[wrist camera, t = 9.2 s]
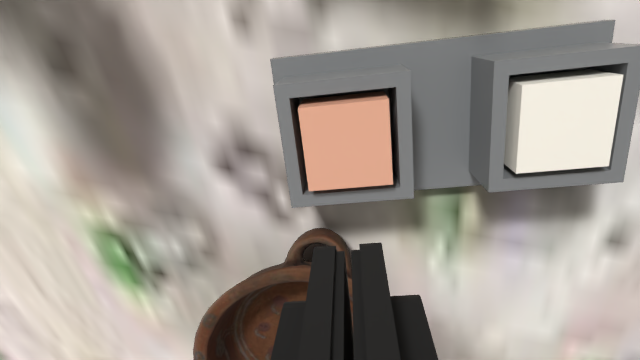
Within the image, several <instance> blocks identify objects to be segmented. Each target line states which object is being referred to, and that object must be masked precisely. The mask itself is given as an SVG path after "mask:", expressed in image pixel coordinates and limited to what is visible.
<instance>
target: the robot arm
mask: <svg viewBox="0 0 640 360" xmlns="http://www.w3.org/2000/svg"><path fill="white" fill-rule="evenodd" d="M351 259H352V300H353V326H352V316H351V306H350V297H349V287H348V277H347V268H346V258H345V251H337V249H336V246H323V247H314V249H313V256H312V263H311V269H310V276H309V283H308V290H307V297H306V301H291V302H285V303H284V304H283V307H282V311H281V315H280V320H279V324H278V328H277V333H276V337H275V342H274V346H273V350H272V355H271V359H270V360H438V357H437V354H436V350H435V347H434V343H433V339H432V336H431V332H430V329H429V325H428V321H427V318H426V314H425V311H424V307H423V303H422V300H421V297H420V296H419V295H406V296H390V292H389V286H388V280H387V274H386V268H385V262H384V256H383V250H382V244H381V243H368V244H360V250H351Z"/></svg>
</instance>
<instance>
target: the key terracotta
mask: <svg viewBox="0 0 640 360" xmlns="http://www.w3.org/2000/svg"><path fill="white" fill-rule="evenodd" d="M298 114H299V121H300V129H301V136H302V144H303V151H304V159H305V166H306V174H307V182H308V189H309V191H319V190H331V189H344V188H356V187H368V186H381V185H393V172H392V152H391V131H390V111H389V98H388V97H387V95H386V94H385V92H384V91H378V92H368V93H358V94H349V95H339V96H330V97H320V98H310V99H303V100H302V102H301V104H300V105H299V107H298Z"/></svg>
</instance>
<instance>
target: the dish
mask: <svg viewBox="0 0 640 360" xmlns="http://www.w3.org/2000/svg"><path fill="white" fill-rule="evenodd" d="M315 243H320V244H325V245H327V246H336V249H337V251H345V258H346V268H347V277H348V287H349V297H350V306H351V316H352V326H353V300H352V268H351V260H350V255H349V250H348V248H347V245H346V243H345V242H344V240H343V239H342V237H341V236H339V235H338V234H337V233H335V232H334V231H332V230H329V229H327V228H315V229H312V230H310V231H307V232H305V233H304V234H303V235H301V236H300V237H299V238H298V239H297V240H296V241H295V243H294V244H293V246H292V247H291V248H290V250H289V252H288V255H287V258H286V260H285V262H284V263H282V264H279V265H276V266H272V267H269V268H266V269H263V270H261V271H259V272H257V273H255V274H253V275H252V276H250V277H249V278H247V279H246V280H244V281H242V282H241V283H239V284H237V285H236V286H234V287H233V288H231V289H230V290H228V291H227V292H225V293H224V294H223V295H222V296H221V297H220V298H219V299H218V300H216V301H215V302H214V303H213V304H212V306H211V307H210V308H209V309H208V311H207V312H206V313H205V315H204V316H203V318H202V320H201V322H200V325H199V327H198V330H197V332H196V336H195V342H194V349H193V355H194V360H270V359H271V355H272V350H273V346H274V342H275V337H276V333H277V328H278V324H279V320H280V315H281V311H282V307H283V304H284V303H285V302H291V301H306V297H307V290H308V283H309V276H310V269H311V263H312V262H309V261H305V260H304V258H303V252H304V250H305V249H306V248H307V247H308V246H309V245H311V244H315Z"/></svg>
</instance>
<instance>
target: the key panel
mask: <svg viewBox="0 0 640 360" xmlns="http://www.w3.org/2000/svg"><path fill="white" fill-rule="evenodd" d="M614 25H615V20H601V21H593V22H584V23H575V24H567V25H558V26H549V27H541V28H532V29H523V30H515V31H506V32H497V33H489V34H480V35H471V36H463V37H454V38H445V39H437V40H428V41H419V42H411V43H402V44H393V45H384V46H376V47H367V48H358V49H350V50H341V51H332V52H324V53H315V54H306V55H298V56H289V57H280V58H273V59H270V61H271V68H272V74H273V81H274V85H273V88H274V94H275V101H276V108H277V114H278V121H279V127H280V134H281V140H282V147H283V153H284V160H285V167H286V173H287V180H288V186H289V193H290V199H291V206H292V208H295V207H308V206H321V205H333V204H346V203H359V202H372V201H385V200H398V199H411V198H414V190H423V189H436V188H448V187H461V186H473V185H482V186H483V187H484V188H485V189H486V190H487V191H488V192H501V191H514V190H527V189H540V188H553V187H566V186H579V185H592V184H604V183H617V182H623V180H624V175H625V169H626V164H627V158H628V152H629V147H630V141H631V135H632V130H633V124H634V119H635V113H636V107H637V102H638V96H639V90H640V44H622V43H612V38H613V32H614ZM586 69H591V70H598V71H604V72H610V73H616V74H622V75H623V81H622V87H621V93H620V100H619V106H618V112H617V118H616V124H615V131H614V137H613V143H612V149H611V155H610V162H609V166H604V167H592V168H580V169H567V170H555V171H543V172H531V173H518V174H516V173H515V172H513V171H512V170H511V169H510V168H509V167H507V166H506V165H505V164H504V153H505V136H506V119H507V102H508V85H509V77H519V76H528V75H538V74H548V73H557V72H567V71H576V70H586ZM378 91H384V92H385V94H386V95H387V97H388V98H389V111H390V131H391V152H392V172H393V185H381V186H368V187H356V188H344V189H331V190H319V191H309V189H308V182H307V174H306V166H305V159H304V151H303V144H302V136H301V129H300V121H299V114H298V107H299V105H300V104H301V102H302V100H303V99H310V98H320V97H330V96H339V95H349V94H358V93H368V92H378Z"/></svg>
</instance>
